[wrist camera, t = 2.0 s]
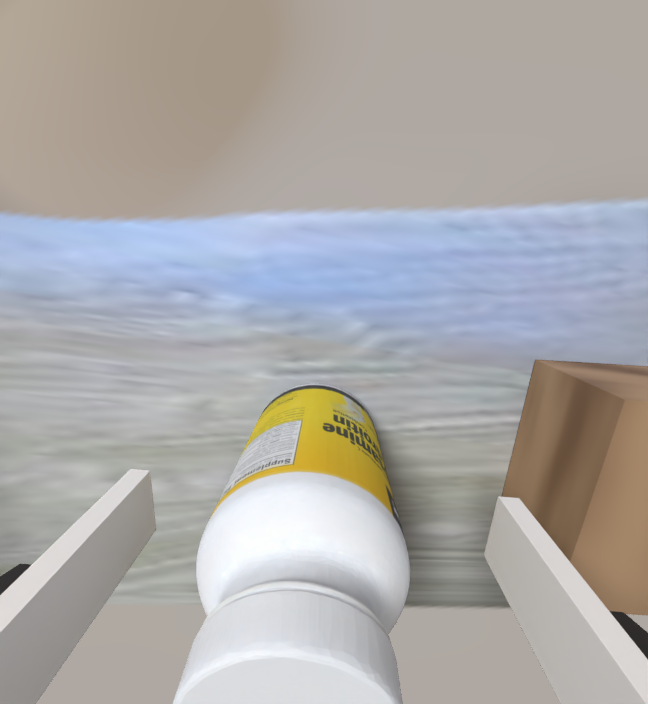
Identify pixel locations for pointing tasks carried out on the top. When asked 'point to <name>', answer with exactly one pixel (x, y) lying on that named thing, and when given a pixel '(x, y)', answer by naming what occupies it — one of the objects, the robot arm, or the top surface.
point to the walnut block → (589, 472)
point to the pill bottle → (301, 564)
